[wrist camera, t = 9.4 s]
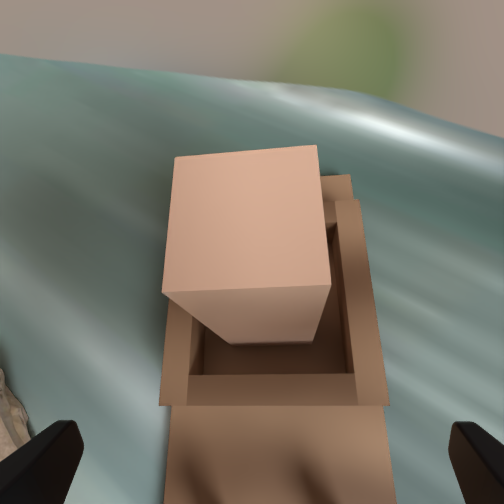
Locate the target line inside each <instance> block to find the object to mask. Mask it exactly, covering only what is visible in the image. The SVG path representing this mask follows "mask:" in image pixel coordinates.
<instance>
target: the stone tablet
mask: <svg viewBox="0 0 504 504" xmlns="http://www.w3.org/2000/svg"><path fill="white" fill-rule="evenodd" d="M27 421H28V416H27V414H26V412H25V409H24V407H23V406H22V404H21V403H20V402H19V401H18V400H17V399H16V398H15V397H14V395H13V394H12V393H11V391H10V390H9V389H8V387H7V386H6V385H5V374H4V372H3V370H2V369H0V461H2V460H3V459H5V458H6V457H7V456H9V455H10V454H11V453H13V452H14V451H16V450H17V449H18V448H20V447H21V446H23V445H24V444H25V443H27V442H28V441H29V440H31V438H30V436H29V434H28V430H27V425H26V424H27Z"/></svg>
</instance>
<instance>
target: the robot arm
mask: <svg viewBox="0 0 504 504" xmlns="http://www.w3.org/2000/svg"><path fill="white" fill-rule="evenodd" d="M83 450H84V442H83V439H82V437H81V434H80V431H79V428H78V426H77V423H76V422H75V421H74V420H59V421H56V422H54V423H53V424H52V425H50V426H49V427H47V428H46V429H45V430H43V431H42V432H40V433H39V434H38V435H36V436H35V437H34V438H32V439H31V440H29V441H28V442H27V443H25V444H24V445H23V446H21V447H20V448H18V449H17V450H16V451H14V452H13V453H11V454H10V455H9V456H7V457H6V458H5V459H3V460H2V461H0V504H64V501H65V499H66V496H67V493H68V491H69V488H70V486H71V483H72V480H73V478H74V475H75V473H76V470H77V467H78V465H79V462H80V460H81V457H82V454H83ZM448 452H449V457H450V461H451V463H452V466H453V469H454V472H455V475H456V477H457V480H458V483H459V486H460V489H461V492H462V494H463V497H464V500H465V503H466V504H504V445H503V444H502V443H500V442H499V441H498V440H497V439H495V438H494V437H493V436H492V435H490V434H489V433H488V432H487V431H485V430H484V429H483V428H481V427H480V426H479V425H478V424H476V423H474V422H470V421H456V422H454V423H453V424H452V428H451V434H450V440H449V446H448Z"/></svg>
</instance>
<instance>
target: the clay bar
mask: <svg viewBox="0 0 504 504" xmlns="http://www.w3.org/2000/svg"><path fill="white" fill-rule="evenodd" d="M331 285H332V284H331V275H330V266H329V256H328V247H327V238H326V228H325V219H324V210H323V200H322V191H321V182H320V173H319V163H318V154H317V145H308V146H297V147H285V148H274V149H262V150H251V151H239V152H228V153H216V154H205V155H193V156H182V157H175V162H174V172H173V183H172V193H171V203H170V213H169V223H168V233H167V243H166V253H165V264H164V274H163V284H162V293H163V294H165V295H166V296H167V297H169V298H170V299H171V300H173V301H174V302H175V303H176V304H178V305H179V306H180V307H182V308H183V309H184V310H186V311H187V312H188V313H190V314H191V315H192V316H193V317H195V318H196V319H197V320H199V321H200V322H201V323H203V324H204V325H205V326H207V327H208V328H209V329H210V330H212V331H213V332H214V333H216V334H217V335H218V336H220V337H221V338H222V339H224V340H225V341H226V342H227V343H229V344H230V345H231V346H270V345H308V344H312V342H313V339H314V336H315V333H316V330H317V327H318V324H319V321H320V318H321V315H322V312H323V309H324V306H325V303H326V300H327V297H328V294H329V291H330V288H331Z"/></svg>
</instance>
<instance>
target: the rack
mask: <svg viewBox="0 0 504 504" xmlns="http://www.w3.org/2000/svg"><path fill="white" fill-rule="evenodd" d="M320 182H321V191H322V200H323V210H324V219H325V228H326V238H327V247H328V256H329V266H330V275H331V284H332V285H331V288H330V291H329V294H328V297H327V300H326V303H325V306H324V309H323V312H322V315H321V318H320V321H319V324H318V327H317V330H316V333H315V336H314V339H313V342H312V344H308V345H270V346H231V345H230V344H229V343H227V342H226V341H225V340H224V339H222V338H221V337H220V336H218V335H217V334H216V333H214V332H213V331H212V330H210V329H209V328H208V327H207V326H205V325H204V324H203V323H201V322H200V321H199V320H197V319H196V318H195V317H193V316H192V315H191V314H190V313H188V312H187V311H186V310H184V309H183V308H182V307H180V306H179V305H178V304H176V303H175V302H174V301H173V300H171V299H170V298H169V303H168V314H167V324H166V334H165V345H164V355H163V366H162V376H161V386H160V397H159V406H172V407H171V419H170V431H169V443H168V455H167V468H166V480H165V492H164V504H397V502H396V495H395V488H394V481H393V474H392V467H391V460H390V452H389V445H388V438H387V431H386V424H385V417H384V410H383V406H390V403H389V396H388V389H387V383H386V376H385V369H384V362H383V356H382V349H381V342H380V336H379V329H378V322H377V316H376V309H375V302H374V296H373V289H372V282H371V275H370V269H369V262H368V255H367V249H366V242H365V235H364V229H363V222H362V215H361V209H360V202H359V200H354V199H353V192H352V185H351V178H350V174H347V175H334V176H320Z"/></svg>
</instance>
